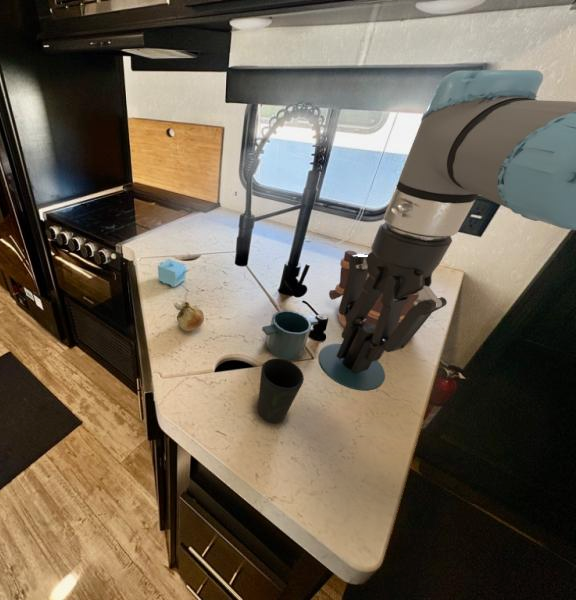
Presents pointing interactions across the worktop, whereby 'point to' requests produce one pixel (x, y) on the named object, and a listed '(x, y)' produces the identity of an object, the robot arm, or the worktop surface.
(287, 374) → the cup
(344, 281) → the mug
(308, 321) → the pot
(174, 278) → the light-blue knobbed box
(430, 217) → the robot arm
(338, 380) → the lid
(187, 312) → the onion
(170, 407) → the worktop surface
